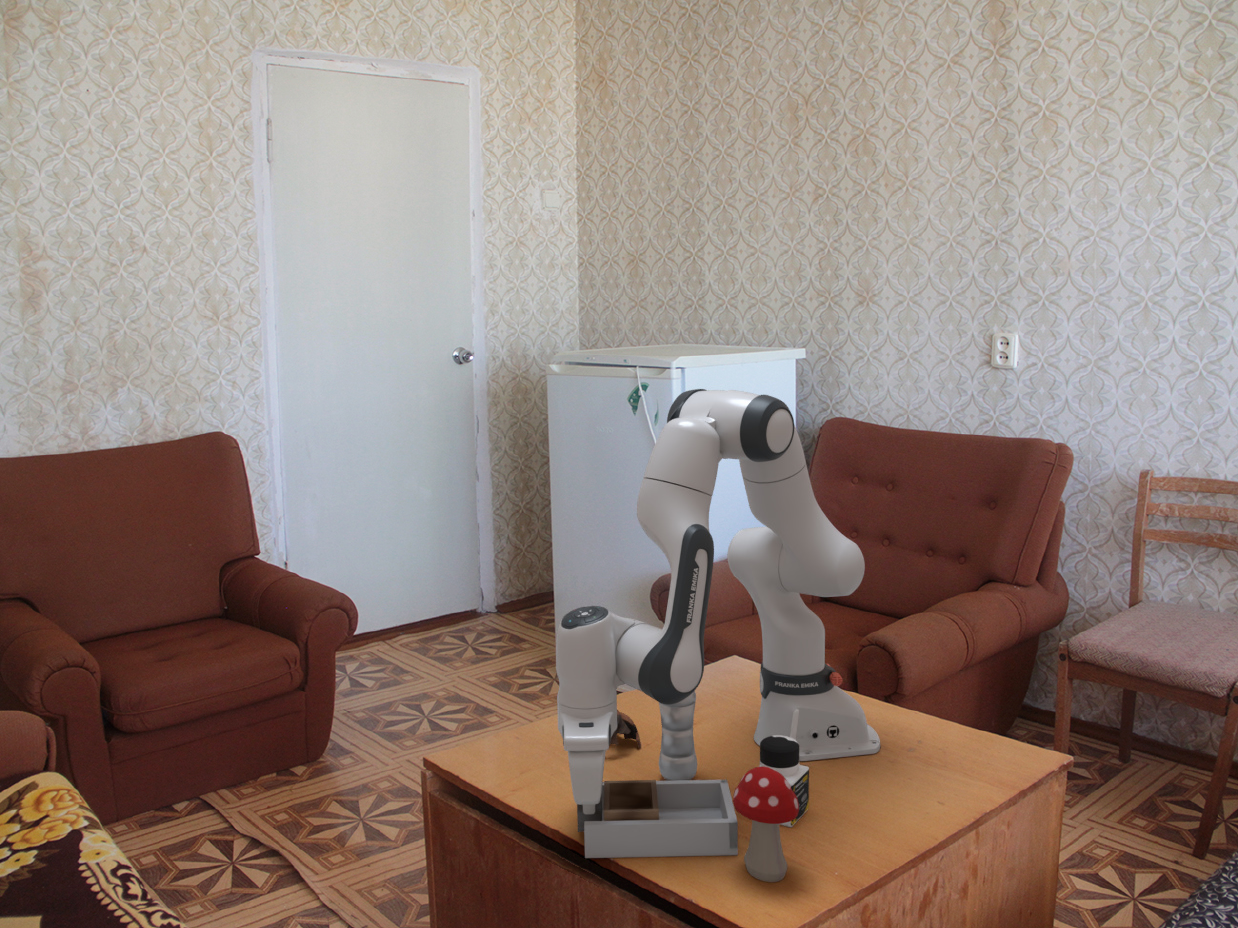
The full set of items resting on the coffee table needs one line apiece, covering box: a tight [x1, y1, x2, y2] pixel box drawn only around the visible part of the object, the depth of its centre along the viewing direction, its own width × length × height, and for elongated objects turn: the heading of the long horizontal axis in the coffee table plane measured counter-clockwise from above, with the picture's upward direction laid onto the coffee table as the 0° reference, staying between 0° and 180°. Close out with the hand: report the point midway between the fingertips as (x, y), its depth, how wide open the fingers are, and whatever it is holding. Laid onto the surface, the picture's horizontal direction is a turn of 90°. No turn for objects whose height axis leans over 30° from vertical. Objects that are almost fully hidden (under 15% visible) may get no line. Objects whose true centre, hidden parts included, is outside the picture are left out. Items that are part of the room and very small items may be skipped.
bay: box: [583, 779, 739, 859], centre depth 156 cm, size 22×14×5 cm, turn 90°
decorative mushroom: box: [732, 766, 799, 883], centre depth 144 cm, size 10×9×15 cm
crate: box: [576, 779, 659, 833], centre depth 155 cm, size 12×10×7 cm
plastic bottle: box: [658, 690, 698, 781], centre depth 173 cm, size 6×7×20 cm
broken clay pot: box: [609, 709, 642, 750], centre depth 189 cm, size 12×10×8 cm
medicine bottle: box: [757, 735, 810, 828], centre depth 161 cm, size 7×7×12 cm
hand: (589, 805), depth 155 cm, fingers closed on crate, 3 cm apart
